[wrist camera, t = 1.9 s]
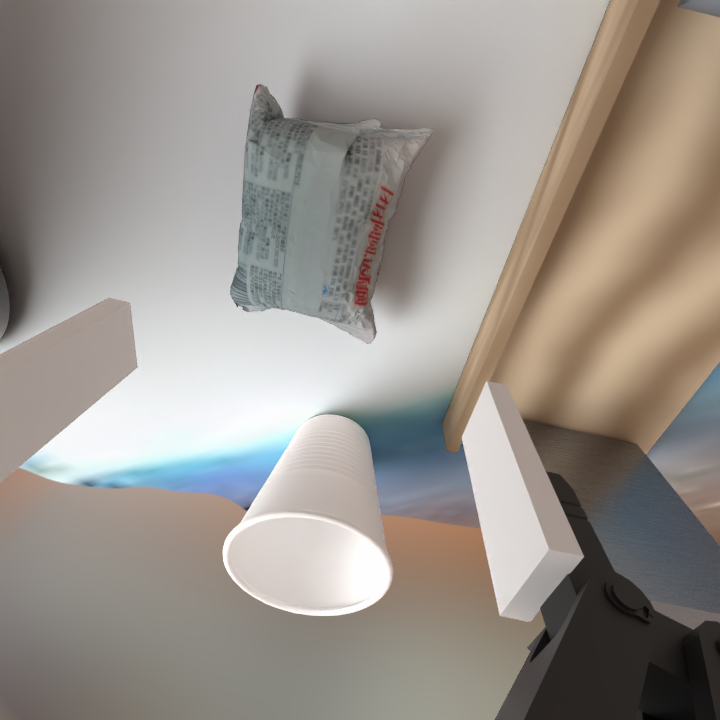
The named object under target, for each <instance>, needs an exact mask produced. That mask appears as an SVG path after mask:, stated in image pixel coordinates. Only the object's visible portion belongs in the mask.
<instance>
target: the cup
mask: <svg viewBox="0 0 720 720" xmlns="http://www.w3.org/2000/svg"><path fill="white" fill-rule="evenodd" d="M223 561H224V564H225V567H226V569H227V571H228V573H229V574H230V576H231V577H232V579H233V580H234V581H235V582H236V583H237V584H238V585H239V586H240V587H241V588H242V589H243V590H244V591H246V592H247V593H249V594H250V595H251V596H253V597H255V598H256V599H258V600H260V601H262V602H264V603H266V604H268V605H271V606H273V607H276V608H279V609H282V610H286V611H289V612H293V613H299V614H305V615H316V616H332V615H341V614H347V613H352V612H356V611H359V610H362V609H365V608H366V607H368V606H370V605H372V604H374V603H376V602H377V601H378V600H379V599H380V598H382V597H383V596H384V595H385V593H386V592H387V590H388V589H389V587H390V584H391V581H392V579H393V565H392V562H391V560H390V557H389V554H388V553H387V550H386V543H385V537H384V530H383V524H382V518H381V512H380V506H379V499H378V493H377V487H376V481H375V473H374V467H373V460H372V453H371V446H370V441H369V438H368V436H367V434H366V432H365V431H364V429H363V428H362V427H361V426H360V425H358V424H357V423H356V422H354V421H352V420H350V419H349V418H346V417H343V416H339V415H333V414H325V415H319V416H315V417H312V418H310V419H309V420H307V421H305V422H304V423H303V424H302V425H301V426H300V427H299V429H298V430H297V432H296V434H295V435H294V437H293V438H292V440H291V442H290V443H289V445H288V447H287V448H286V450H285V452H284V453H283V455H282V456H281V458H280V460H279V461H278V463H277V465H276V466H275V468H274V470H273V471H272V473H271V474H270V476H269V478H268V479H267V481H266V482H265V484H264V486H263V487H262V489H261V490H260V492H259V493H258V495H257V497H256V498H255V500H254V502H253V503H252V505H251V506H250V508H249V510H248V511H247V513H246V515H245V516H244V518H243V519H242V521H241V523H240V524H239V525H237V526H236V527H235V528H234V529H233V530H232V531H231V532H230V534H229V535H228V537H227V538H226V540H225V544H224V547H223Z"/></svg>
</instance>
